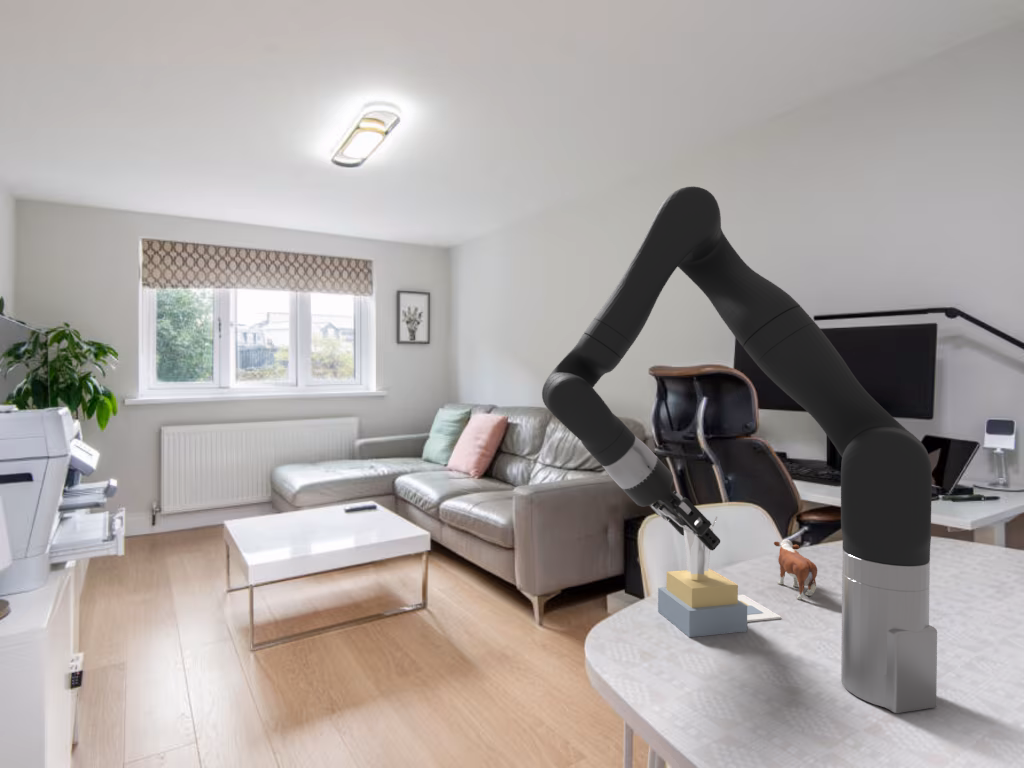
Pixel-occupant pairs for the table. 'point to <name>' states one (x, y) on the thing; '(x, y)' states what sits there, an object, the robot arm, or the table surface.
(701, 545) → the milkshake
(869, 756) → the table surface
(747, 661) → the table surface
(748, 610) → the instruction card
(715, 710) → the table surface
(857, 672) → the robot arm
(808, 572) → the bull figurine
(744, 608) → the tower base
